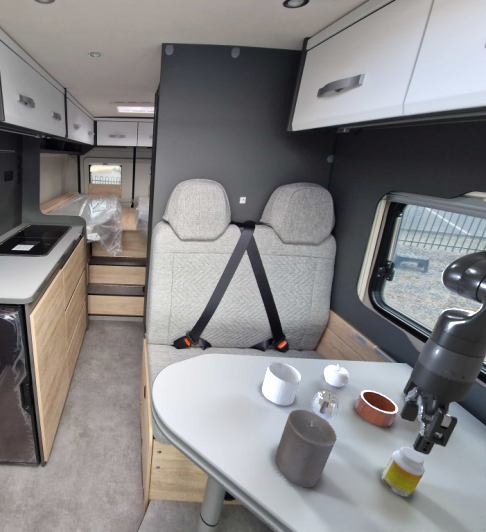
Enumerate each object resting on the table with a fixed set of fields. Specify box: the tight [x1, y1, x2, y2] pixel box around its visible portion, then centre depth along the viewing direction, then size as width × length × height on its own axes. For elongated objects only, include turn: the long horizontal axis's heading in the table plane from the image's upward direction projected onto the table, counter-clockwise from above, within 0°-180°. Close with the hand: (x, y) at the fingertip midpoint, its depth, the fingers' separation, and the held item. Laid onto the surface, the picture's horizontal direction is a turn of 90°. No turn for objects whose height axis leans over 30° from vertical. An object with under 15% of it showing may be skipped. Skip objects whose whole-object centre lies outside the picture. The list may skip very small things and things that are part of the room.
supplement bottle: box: [381, 446, 426, 497], centre depth 69 cm, size 6×6×10 cm
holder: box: [354, 389, 399, 428], centre depth 90 cm, size 9×9×6 cm
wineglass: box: [310, 389, 339, 420], centre depth 82 cm, size 6×6×12 cm
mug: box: [261, 361, 302, 407], centre depth 94 cm, size 12×9×9 cm
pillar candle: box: [274, 408, 338, 489], centre depth 71 cm, size 10×10×15 cm
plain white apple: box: [323, 362, 351, 388], centre depth 101 cm, size 7×7×8 cm
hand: (412, 434), depth 61 cm, fingers open, 8 cm apart
